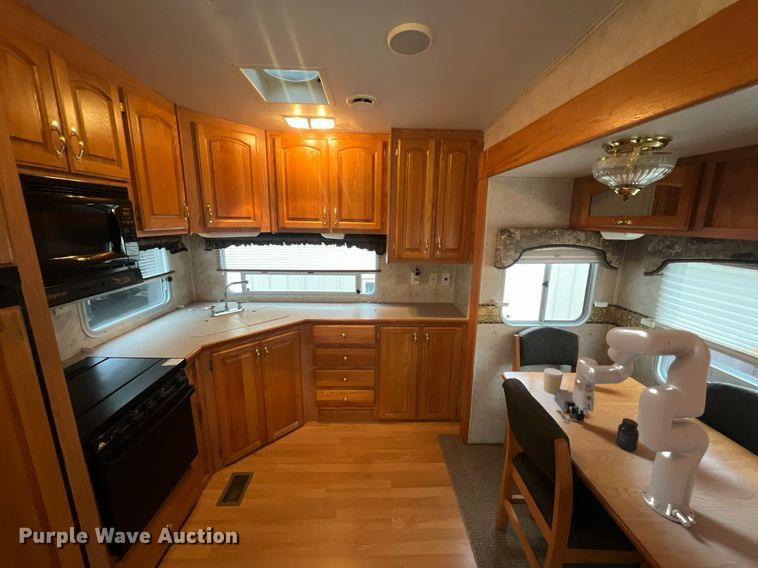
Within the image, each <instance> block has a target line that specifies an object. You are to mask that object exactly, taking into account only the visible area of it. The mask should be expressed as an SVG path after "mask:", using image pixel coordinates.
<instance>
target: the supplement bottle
mask: <svg viewBox="0 0 758 568" xmlns="http://www.w3.org/2000/svg"><path fill="white" fill-rule="evenodd" d="M639 439H640V436H639V433H638V421H635V420H633V419H631V418H628V417H624V418H623V419H622V422H621V423H619V424H618V428H617V433H616V438H615V445H616V446H617V447H619V448H620V449H622V450H623V451H626V452H630V453H634V452H637V449H638V443H639Z"/></svg>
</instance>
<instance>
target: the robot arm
mask: <svg viewBox="0 0 758 568" xmlns="http://www.w3.org/2000/svg"><path fill="white" fill-rule="evenodd" d="M605 340H606V343H607V345H608V346H609V348H608V349H607V355H608V357H609V358H610V360H612V362H614V363H613V364H611V365H599V363H598V361H596V360H595V359H593V358H591V357H585V356H581V357H579V358H578V359H577V363H576V369H575V370H576V371H575V378H574V383H573V384H574V385H573V391H572V399H573V401H574V402H575V404H576V413H575V419H576V421H577V422H584V421H585V416H589V411H590V412H591V413H593V412H594V405H595V386H596V385H612V384H613V385H615V384H616V385H617V384H621V383H624V382H625V381H626V380H627V379H628V378H629V377H630V376H632V374H633V373H634V368H635V367H634V362H635V361H637V360H638V359H639V358H640V357H642V356H650V357H659V356H661V357H663V356H664V357H665V356H666V357H667V356H669V357H670V356H674V357H675V358H674V359H673V361H672V362H671V363H670V364H669V367H668V369H667V373H666V374H667V376H666V381H665V384H664V385H651V386H648V387H645V388H644V389H643V390H642V391H641V393H640V395H639V400H638V416H637V424H638V426H637V429H638V433H639V439H640V440H641V441H642V443H643V444H644V445H645V446H646V447H647V448H648V449H650V450H652V451H655V452H656V453H655V455H654V456H655V457H654V462H653V466H652V469H651V470H652V471H651V475H650V480H649V485H647V486H643V487H642V488H641V493H640V494H641V498H642V499H643V501H644V502H645V503H646V504H647V505H648V506H649V508H651V509H652V510H653V511H654V512H656V513H658V514H659V515H661V516H663V517H664V518H667V519H669V520H671V521H674V522H676V523H680V524H682V525H683V526H684V527H685V528H690V527H691V526H692V525H695V524H697V521H696V520H695V512H694V510H693V509H692V508H691V507H690V503H691V499H692V495H693V491H694V487H695V483H696V479H697V476H698V471H699V467H700V464H701V461H702V459H703V458H704V456H705V454H706V453H707V451H708V449H709V446H710V438H709V434H708V432H707V431H706V430H705V427H703V426H702V425H700V424H699V423H697V422H696V421H694V420H691V419H692V418H693V419H694V418H698V417H701V416H703V414H704V413H705V409H706V408H705V407H706V396H707V385H708V384H707V382H708V381H707V380H708V374H709V370H710V365H711V359H712V358H711V356H712V354H711V351H710V348H709V345H708V344H707V342H706V341H704V338H703V339H702V337H700V336H699V335H698V334H696V333H694V332H691V331H689V330H688V331H687V330H683V329H671V328H670V329H669V328H668V329H666V328H665V329H664V328H662V329H647V328H644V327H640V326H619V327H618V326H616V327H613V328H611V329H610V330H608V331H607V333H606V336H605Z"/></svg>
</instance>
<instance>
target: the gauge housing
mask: <svg viewBox="0 0 758 568" xmlns="http://www.w3.org/2000/svg"><path fill="white" fill-rule="evenodd" d="M572 396H573V393H571V392H570V391H569V390H567V389H560V390H559V389H556V392H555V394H554V401H555V403H556V404H557V406H558V407H559V408H560V410H558V409H557V410H555V412H556V414H557V415H558V417H559V418H560V419H561V421H562V422H563V423H567V424H568V423H569V420H568V418H567V417H566V415H562V413H564V414H568V413H567V411H568V403H570V404H571V405H572V406H573V407H576V404H575V402H574V401H573V399H572Z"/></svg>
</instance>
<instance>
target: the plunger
mask: <svg viewBox="0 0 758 568" xmlns="http://www.w3.org/2000/svg"><path fill="white" fill-rule="evenodd" d="M567 409H569V410H570V412H569V413H563V412H562V415H564V416H565V417H566V416H567V417H569V419H570V420H576V419H575V413H576V407H573V406H572V405H571V404H570V403H568V407H567ZM576 421H577V420H576Z"/></svg>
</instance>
